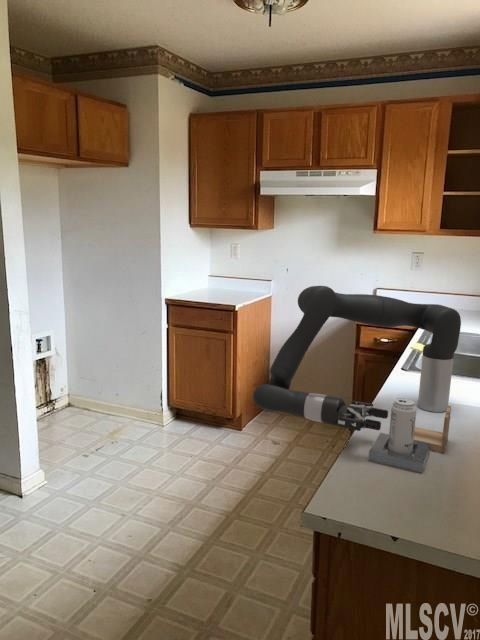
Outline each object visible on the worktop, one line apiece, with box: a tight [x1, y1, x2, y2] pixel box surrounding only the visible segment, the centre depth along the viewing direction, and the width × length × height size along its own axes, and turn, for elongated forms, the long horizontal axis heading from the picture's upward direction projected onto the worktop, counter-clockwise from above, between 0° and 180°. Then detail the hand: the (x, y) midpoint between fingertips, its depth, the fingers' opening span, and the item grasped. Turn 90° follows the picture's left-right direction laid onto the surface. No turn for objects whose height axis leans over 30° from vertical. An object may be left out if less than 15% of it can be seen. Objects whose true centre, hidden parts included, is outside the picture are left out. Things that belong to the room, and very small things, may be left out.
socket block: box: [368, 432, 430, 474], centre depth 135 cm, size 13×13×2 cm
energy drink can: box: [387, 397, 417, 456], centre depth 133 cm, size 6×6×15 cm
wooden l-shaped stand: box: [414, 405, 452, 454], centre depth 142 cm, size 9×9×10 cm
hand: (384, 420), depth 135 cm, fingers open, 8 cm apart
